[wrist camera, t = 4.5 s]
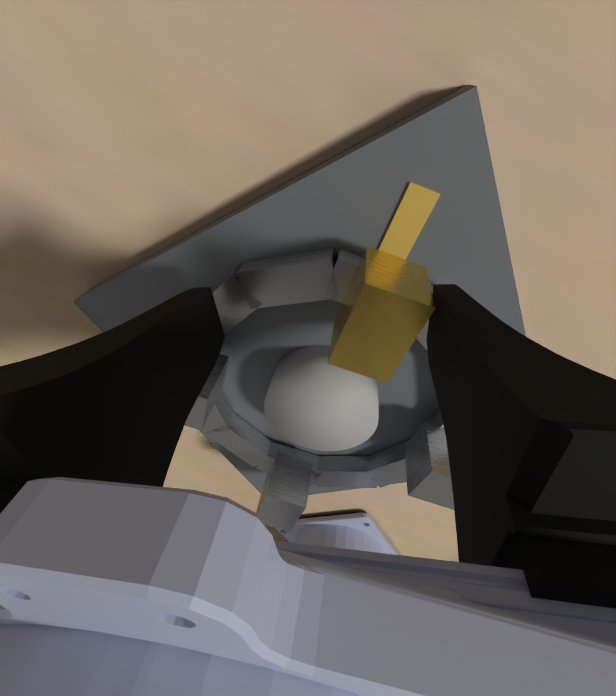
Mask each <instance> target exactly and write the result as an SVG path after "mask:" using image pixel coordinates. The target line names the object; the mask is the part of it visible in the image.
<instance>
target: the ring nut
mask: <svg viewBox="0 0 616 696" xmlns="http://www.w3.org/2000/svg"><path fill="white" fill-rule="evenodd" d="M434 284H435V283H433V284H431V281H430V279H428V274H427V270H426V267H425V266H422V265H419V264H417V263H414V262H411V261H408V260H405V259H403V258H400V257H397V256H394V255H392V254H389V253H386V252H383V251H381V250H378V249H375V248H372V247H370V246H366V249H365V251H364V253H363V255H361V254H358V253H355V252H353V251H350V250H347V249H344V248H342V247H340V249H339V252H338V254H337V257H336V253H335V248H334V247H328V248H322V249H315V250H309V251H303V252H297V253H291V254H284V255H278V256H272V257H266V258H260V259H253V260H247V261H244V263H243V264H241V263H240V264H239V265H238V266H237V267H236V268H235V269H233V270H232V271H231V272H230V273H229V274H228V275H227V276H226V277H225V278H224V279H223V280H222V281H221V282H220V283H219V284H218V285H216V286H215V287H214V288H213V289H212V293H213V297H214V300H215V304H216V307H217V310H218V314H219V317H220V321H221V324H222V327H223V331H224V334H226V333H227V332H228V331H230V330H231V329H232V328H233V327H235V326H236V325H237V324H238V323H240V322H241V321H242V320H243V319H245V318H246V317H247V316H248V315H250V314H251V313H252V312H253V311H255V310H256V309H257V308H263V307H272V306H280V305H288V304H296V303H304V302H312V301H320V300H329V299H332V300H335V301H338V302H340V303H342V304H341V306H340V308H339V311H338V313H337V315H336V318H335V321H334V327H333V332H332V338H331V344H330V350H329V356H328V362H327V363H328V364H331V365H334V366H337V367H340V368H343V369H346V370H349V371H351V372H354V373H357V374H360V375H363V376H366V377H369V378H372V379H375V380H378V381H381V382H384V383H387V382H388V381H389V379H390V378H391V376H392V375H393V373H394V372H395V370H396V368H397V367H398V365H399V364H400V362H401V361H402V359H403V358H404V356H405V355H406V353H407V352H408V350H409V349H410V347H411V345H412V344H413V342H414V341H415V339H417V340H418V341H419V342H420V343H421V344H422V345H423V347H424V348H425V349H426V350H427V341H426V338H427V331H428V324H429V318H430V316H431V315H432V313H433V312H434V310H435V309H436V307H435V303H434V299H433V295H432V294H433V287H434ZM228 360H229V356H226V355H223V354H219V357H218V360H217V362H216V364H215V366H214V368H213V370H212V372H211V373H210V375H209V377H208V379H207V381H206V383H205V385H204V387H203V389H202V391H201V392H200V394H199V396H198V398H197V400H196V402H195V404H194V406H193V407H192V409H191V411H190V413H189V416H188V418H187V420H186V422H185V425H186V426H189V427H192V428H195V429H198V430H203V432H207V434H206V435H208V436H209V437H211V438H212V439H213V440H215V441H216V442H218V443H219V444H221V445H222V446H224V447H225V448H226V449H228V450H229V451H231V452H232V453H234V454H235V455H236V456H238V457H239V458H241V459H242V460H244V461H245V462H246V463H248V464H249V465H251V466H252V467H255V466H257V468H256V469H259V470H262V471H265V472H268V474H267V476H266V478H265V482H264V485H263V489H262V493H261V496H260V500H259V504H258V507H257V511H256V515H257V516H258V517H259V518H260V520H261V521H262V522H263V523H264V524H265V525H267V526H270V527H274V528H277V529H280V530H284V531H287V532H290V531H291V530H292V528H293V526H294V525H295V523H296V522H297V520H298V519H299V517H300V516H301V514H302V513H303V511H304V510H305V508H306V503H307V497H308V491H309V485H311V486H313V485H314V484H316V487H359V488H377V485H378V486H379V487H383V486H386V485H389V484H392V483H395V482H399V481H402V480H405V479H407V489H408V495H409V496H412V497H415V498H418V499H421V500H425V501H428V502H431V503H434V504H437V505H441V506H444V507H447V508H450V509H453V510H454V500H453V491H452V482H451V473H450V465H449V457H448V449H447V442H446V435H445V430H444V425H443V420H442V416H441V412H440V408H439V409H438V410H437V411H436V412H435V413H434V415H433V416H432V417H431V418H430V419H429V421H428V422H426V421H425V422H424V423H423V425H422V426H421V427H420V428H419V429H418V430H417V432H416V433H415V434H414V435H413V436H412V438H411V439H410V440H408V441H405V442H403V443H400V444H398V445H395V446H392V447H390V448H387V449H384V450H382V451H379V452H377V453H374V454H371V455H369V456H317V455H314V454H310V453H307V452H304V451H301V450H298V449H295V448H291V447H288V446H285V445H282V444H279V443H276V442H272V441H270V440H269V439H268V438H266V437H265V436H264V435H263V434H261V433H260V432H259V431H257V430H256V429H255V428H253V427H252V426H251V425H249V424H248V423H247V422H245V421H244V420H243V419H241V418H240V417H239V416H237V415H236V414H235V413H234V412H233V410H232V408H231V406H230V405H229V403H228V401H227V399H226V397H225V395H224V393H223V391H222V388H223V384H224V379H225V374H226V369H227V364H228Z"/></svg>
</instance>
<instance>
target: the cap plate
mask: <svg viewBox="0 0 616 696" xmlns="http://www.w3.org/2000/svg"><path fill="white" fill-rule="evenodd" d="M366 246H370V247H372V248H375V249H378V250H381V251H383V252H386V253H389V254H392V255H394V256H397V257H400V258H403V259H405V260H408V261H411V262H414V263H417V264H419V265H422V266H425V267H426V270H427V274H428V279H430V281H431V284H433V283H435V284H456V285H457V286H459V287H460V288H461V289H462V290H464V291H465V292H466V293H467V294H469V295H470V296H471V297H472V298H473V299H475V300H476V301H477V302H478V303H479V304H481V305H482V306H483V307H484V308H486V309H487V310H488V311H490V312H491V313H492V314H493V315H495V316H496V317H498V318H499V319H500V320H502V321H503V322H504V323H506V324H507V325H509V326H510V327H512V328H513V329H515V330H516V331H518V332H519V333H521V334H522V335H524V336H526V335H525V330H524V325H523V320H522V315H521V310H520V305H519V300H518V294H517V289H516V284H515V279H514V274H513V269H512V264H511V259H510V254H509V249H508V244H507V238H506V233H505V228H504V223H503V218H502V213H501V208H500V203H499V198H498V193H497V188H496V183H495V177H494V172H493V167H492V162H491V157H490V152H489V147H488V142H487V137H486V132H485V127H484V122H483V116H482V111H481V106H480V101H479V96H478V91H477V86H473V85H465V86H464V87H462V88H460V89H458V90H456V91H454V92H453V93H451V94H449V95H447V96H445V97H443V98H441V99H440V100H438V101H436V102H434V103H432V104H430V105H429V106H427V107H425V108H423V109H421V110H419V111H417V112H416V113H414V114H412V115H410V116H408V117H406V118H405V119H403V120H401V121H399V122H397V123H395V124H393V125H392V126H390V127H388V128H386V129H384V130H382V131H381V132H379V133H377V134H375V135H373V136H371V137H369V138H368V139H366V140H364V141H362V142H360V143H358V144H357V145H355V146H353V147H351V148H349V149H347V150H345V151H344V152H342V153H340V154H338V155H336V156H334V157H333V158H331V159H329V160H327V161H325V162H323V163H321V164H320V165H318V166H316V167H314V168H312V169H310V170H309V171H307V172H305V173H303V174H301V175H299V176H297V177H296V178H294V179H292V180H290V181H288V182H286V183H285V184H283V185H281V186H279V187H277V188H275V189H273V190H272V191H270V192H268V193H266V194H264V195H262V196H261V197H259V198H257V199H255V200H253V201H251V202H249V203H248V204H246V205H244V206H242V207H240V208H238V209H237V210H235V211H233V212H231V213H229V214H227V215H225V216H224V217H222V218H220V219H218V220H216V221H214V222H213V223H211V224H209V225H207V226H205V227H203V228H201V229H200V230H198V231H196V232H194V233H192V234H190V235H189V236H187V237H185V238H183V239H181V240H179V241H177V242H176V243H174V244H172V245H170V246H168V247H166V248H165V249H163V250H161V251H159V252H157V253H155V254H153V255H152V256H150V257H148V258H146V259H144V260H142V261H140V262H139V263H137V264H135V265H133V266H131V267H129V268H128V269H126V270H124V271H122V272H120V273H118V274H116V275H115V276H113V277H111V278H109V279H107V280H105V281H104V282H102V283H100V284H98V285H96V286H94V287H92V288H91V289H89V290H88V291H87V292H85V293H84V294H83V295H81V296H80V297H79V298H77V299H76V300H75V301H74V303H75V304H76V305H77V306H78V307H79V308H80V309H81V310H82V311H83V312H84V313H85V314H86V315H87V316H88V317H89V318H90V319H91V320H92V321H93V322H94V323H95V324H96V325H97V326H98V327H99V328H100V329H101V330H102V332H106V331H108V330H110V329H112V328H114V327H116V326H118V325H120V324H122V323H124V322H126V321H128V320H130V319H132V318H134V317H136V316H138V315H140V314H142V313H144V312H146V311H148V310H150V309H152V308H153V307H155V306H157V305H159V304H161V303H163V302H164V301H166V300H168V299H170V298H172V297H174V296H176V295H178V294H180V293H182V292H184V291H186V290H189V289H191V288H197V287H211V290H212V289H213V288H214V287H215V286H216V285H218V284H219V283H220V282H221V281H222V280H223V279H224V278H225V277H226V276H227V275H228V274H229V273H230V272H231V271H232V270H233V269H235V268H236V267H237V266H238V265H239V264H240V263H241V264H243V263H244V261H247V260H253V259H260V258H266V257H272V256H278V255H284V254H291V253H297V252H303V251H309V250H315V249H322V248H328V247H334V248H335V253H336V257H337V254H338V252H339V249H340V247H342V248H344V249H347V250H350V251H353V252H355V253H358V254H361V255H363V253H364V251H365V249H366ZM341 304H342V303H340V302H338V301H335V300H332V299H329V300H320V301H312V302H304V303H296V304H288V305H280V306H272V307H263V308H257V309H256V310H255V311H253V312H252V313H251V314H250V315H248V316H247V317H246V318H245V319H243V320H242V321H241V322H240V323H238V324H237V325H236V326H235V327H233V328H232V329H231V330H230V331H228V332H227V333H226V334H225V339H224V342H223V345H222V348H221V351H220V354H223V355H226V356H229V360H228V364H227V369H226V374H225V379H224V384H223V388H222V391H223V393H224V395H225V397H226V399H227V401H228V403H229V405H230V406H231V408H232V410H233V412H234V413H235V414H236V415H237V416H239V417H240V418H241V419H243V420H244V421H245V422H247V423H248V424H249V425H251V426H252V427H253V428H255V429H256V430H257V431H259V432H260V433H261V434H263V435H264V436H265V437H266V438H268V439H269V440H270V441H272V442H276V443H279V444H282V445H285V446H288V447H291V448H295V449H298V450H301V451H304V452H307V453H310V454H314V455H317V456H369V455H371V454H374V453H377V452H379V451H382V450H384V449H387V448H390V447H392V446H395V445H398V444H400V443H403V442H405V441H408V440H410V439H411V438H412V436H413V435H414V434H415V433H416V432H417V430H418V429H419V428H420V427H421V426H422V425H423V423H424V422H425V421H426V422H428V421H429V419H430V418H431V417H432V416H433V415H434V413H435V412H436V411H437V410H438V409H439V404H438V400H437V397H436V393H435V389H434V384H433V380H432V376H431V372H430V368H429V361H428V352H427V350H426V349H425V348H424V347H423V345H422V344H421V343H420V342H419V341H418V340H417V339H415V341H414V342H413V344H412V345H411V347H410V349H409V350H408V352H407V353H406V355H405V356H404V358H403V359H402V361H401V362H400V364H399V365H398V367H397V368H396V370H395V372H394V373H393V375H392V376H391V378H390V379H389V381H388V382H387V383H384V382H381V381H378V380H375V379H372V378H369V377H366V376H363V375H360V374H357V373H354V372H351V371H349V370H346V369H343V368H340V367H337V366H334V365H331V364H328V363H327V362H328V356H329V350H330V344H331V338H332V332H333V327H334V321H335V318H336V315H337V313H338V311H339V308H340V306H341ZM199 431H200V432H201V433H202V434H203V435H204V436H205V437H206V438H207V439H208V440H209V441H210V442H211V443H212V444H213V445H214V446H215V447H216V448H217V449H218V450H219V451H220V452H221V453H222V454H223V455H224V456H225V457H226V458H227V459H228V460H229V461H230V462H231V463H232V464H233V465H234V466H235V467H236V469H237V470H238V471H239V472H240V473H241V474H242V475H243V476H244V477H245V478H246V479H247V480H248V481H249V482H250V483H251V484H252V485H253V486H254V487H255V488H256V489H257V490H258V491H259V492H260V493H262V489H263V485H264V482H265V478H266V476H267V474H268V472H265V471H262V470H259V469H256V468H257V466H255V467H252V466H251V465H249V464H248V463H246V462H245V461H244V460H242V459H241V458H239V457H238V456H236V455H235V454H234V453H232V452H231V451H229V450H228V449H226V448H225V447H224V446H222V445H221V444H219V443H218V442H216V441H215V440H213V439H212V438H211V437H209V436H208V435H206V434H207V432H203V430H199ZM403 482H407V479H405V480H402V481H399V482H395V483H392V484H396V483H403ZM377 486H378V485H377ZM357 488H359V487H316V484H314V485H313V486H311V485H309V491H308V495H311V494H319V493H327V492H334V491H342V490H350V489H357Z"/></svg>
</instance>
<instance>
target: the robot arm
mask: <svg viewBox="0 0 616 696" xmlns="http://www.w3.org/2000/svg"><path fill="white" fill-rule="evenodd" d="M432 295H433V299H434V303H435V307H436V309H435V310H434V312H433V313H432V315H431V316H430V318H429V324H428V331H427V338H426V341H427V352H428V361H429V368H430V372H431V376H432V380H433V384H434V389H435V393H436V397H437V400H438V404H439V408H440V412H441V416H442V420H443V425H444V430H445V435H446V442H447V449H448V457H449V465H450V473H451V482H452V491H453V500H454V510H455V521H456V531H457V542H458V555H459V562H452V561H444V560H436V559H427V558H419V557H410V556H402V555H398V553H397V552H396V551H395V549H394V548H393V547H392V545H391V544H390V542H389V541H388V540H387V538H386V537H385V536H384V534H383V533H382V532H381V530H380V529H379V527H378V526H377V525H376V523H375V522H374V521H373V519H372V518H371V517H370V515H369V514H367V513H353V514H343V515H333V516H323V517H313V518H303V519H298V520H297V522H296V523H295V525H294V526H293V528H292V530H291V531H290V532H287V531H284V530H280V529H277V528H275V529H276V530H277V531H278V532H279V533H280V534H281V535H282V536H283V537H284V538H286V539H287V540H288V541H289V542H285V541H277V540H274V539H273V536H272V534H271V533H270V531H269V530H268V528H267V527H266V526H265V524H264V523H263V522H262V521H261V520H260V518H259V517H258V516H257V515H256V514H255V512H253V511H251V510H249V509H247V508H245V507H244V506H242V505H240V504H238V503H236V502H234V501H232V500H230V499H229V498H226V497H222V496H218V495H213V494H209V493H205V492H201V491H196V490H188V489H178V488H168V487H163V484H164V481H165V477H166V474H167V471H168V468H169V465H170V462H171V459H172V457H173V454H174V451H175V448H176V445H177V443H178V440H179V438H180V435H181V432H182V430H183V427H184V425H185V422H186V420H187V418H188V416H189V413H190V411H191V409H192V407H193V406H194V404H195V402H196V400H197V398H198V396H199V394H200V392H201V391H202V389H203V387H204V385H205V383H206V381H207V379H208V377H209V375H210V373H211V372H212V370H213V368H214V366H215V364H216V362H217V360H218V357H219V354H220V351H221V348H222V345H223V342H224V339H225V334H224V331H223V327H222V324H221V321H220V317H219V314H218V310H217V307H216V304H215V300H214V297H213V293H212V290H211V287H197V288H191V289H189V290H186V291H184V292H182V293H180V294H178V295H176V296H174V297H172V298H170V299H168V300H166V301H164V302H163V303H161V304H159V305H157V306H155V307H153V308H152V309H150V310H148V311H146V312H144V313H142V314H140V315H138V316H136V317H134V318H132V319H130V320H128V321H126V322H124V323H122V324H120V325H118V326H116V327H114V328H112V329H110V330H108V331H106V332H103V333H101V334H99V335H96V336H94V337H91V338H89V339H86V340H84V341H81V342H79V343H76V344H73V345H70V346H67V347H64V348H61V349H59V350H56V351H53V352H50V353H47V354H44V355H41V356H37V357H34V358H30V359H27V360H23V361H20V362H16V363H12V364H8V365H4V366H0V696H616V379H613V378H611V377H608V376H606V375H603V374H601V373H598V372H596V371H593V370H591V369H589V368H586V367H584V366H582V365H580V364H578V363H575V362H573V361H571V360H569V359H566V358H564V357H562V356H560V355H558V354H556V353H554V352H552V351H551V350H549V349H547V348H545V347H543V346H541V345H540V344H538V343H536V342H534V341H532V340H531V339H529V338H527V337H526V336H524V335H522V334H521V333H519V332H518V331H516V330H515V329H513V328H512V327H510V326H509V325H507V324H506V323H504V322H503V321H502V320H500V319H499V318H498V317H496V316H495V315H493V314H492V313H491V312H490V311H488V310H487V309H486V308H484V307H483V306H482V305H481V304H479V303H478V302H477V301H476V300H475V299H473V298H472V297H471V296H470V295H469V294H467V293H466V292H465V291H464V290H462V289H461V288H460V287H459V286H457V285H456V284H434V287H433V294H432Z"/></svg>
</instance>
